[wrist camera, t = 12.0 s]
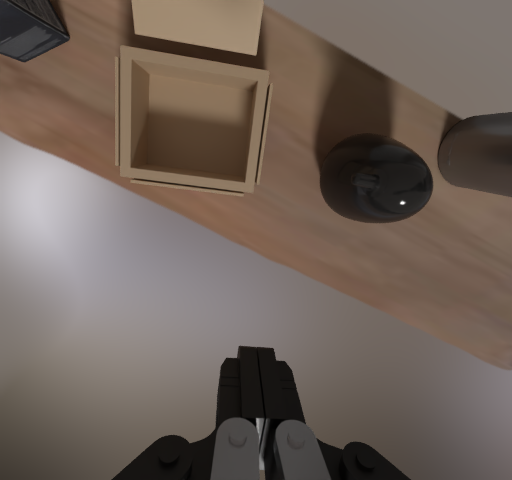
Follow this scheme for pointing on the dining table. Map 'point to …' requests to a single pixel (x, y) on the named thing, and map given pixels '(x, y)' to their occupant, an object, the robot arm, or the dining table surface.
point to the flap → (202, 22)
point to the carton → (189, 121)
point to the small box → (29, 28)
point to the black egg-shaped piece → (375, 179)
